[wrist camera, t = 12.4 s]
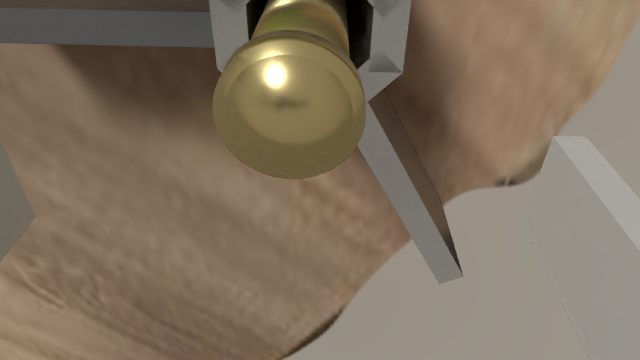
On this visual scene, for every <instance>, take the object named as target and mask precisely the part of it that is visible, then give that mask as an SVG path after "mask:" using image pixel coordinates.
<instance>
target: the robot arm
mask: <svg viewBox="0 0 640 360" xmlns="http://www.w3.org/2000/svg"><path fill="white" fill-rule="evenodd" d="M34 217H35V214H34V212H33V210H32V208H31V206H30V204H29V201H28V199H27V197H26V195H25V193H24V190H23V188H22V186H21V184H20V182H19V180H18V177H17V175H16V173H15V171H14V169H13V167H12V164H11V162H10V160H9V158H8V156H7V153H6V151H5V149H4V147H3V145H2V143H1V140H0V262H1V261H2V259H3V258H4V257H5V256H6V254H7V253H8V252H9V250H10V249H11V248H12V246H13V245H14V244H15V242H16V241H17V240H18V238H19V237H20V236H21V235H22V233H23V232H24V231H25V229H26V228H27V227H28V225H29V224H30V223H31V221H32V220H33V219H34ZM522 226H523V228H524V230H525V232H526V234H527V236H528V238H529V240H530V242H531V244H532V246H533V248H534V250H535V252H536V254H537V256H538V258H539V260H540V262H541V264H542V266H543V268H544V270H545V272H546V274H547V276H548V278H549V280H550V282H551V284H552V286H553V288H554V290H555V292H556V294H557V295H558V298H559V300H560V302H561V303H562V306H563V308H564V309H565V312H566V314H567V316H568V318H569V320H570V321H571V323H572V325H573V327H574V329H575V331H576V333H577V335H578V337H579V339H580V341H581V343H582V345H583V347H584V349H585V351H586V353H587V355H588V357H589V359H590V360H640V199H639V198H638V197H637V196H636V195H635V194H634V193H633V191H632V190H631V189H630V188H629V187H628V185H627V184H626V183H625V182H624V181H623V180H622V179H621V177H620V176H619V175H618V174H617V173H616V172H615V170H614V169H613V168H612V167H611V166H610V165H609V163H608V162H607V161H606V160H605V159H604V158H603V156H602V155H601V154H600V153H599V152H598V151H597V149H596V148H595V147H594V146H593V145H592V144H591V142H590V141H589V140H588V139H587V138H586V137H557V136H553V138H552V141H551V144H550V147H549V149H548V152H547V155H546V158H545V161H544V163H543V166H542V169H541V172H540V174H539V177H538V180H537V183H536V186H535V188H534V191H533V194H532V197H531V199H530V202H529V205H528V208H527V211H526V213H525V216H524V219H523V222H522Z"/></svg>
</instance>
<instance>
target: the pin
mask: <svg viewBox="0 0 640 360" xmlns="http://www.w3.org/2000/svg"><path fill="white" fill-rule="evenodd" d="M212 108H213V118H214V122H215V126H216V129H217V131H218V134H219V135H220V137H221V139H222V141H223V142H224V144H225V145H226V147H227V148H228V149H229V150H230V152H231V153H232V154H233V155H234V156H235V157H237V158H238V159H239V160H240V161H241V162H243V163H244V164H246V165H247V166H249V167H250V168H252V169H254V170H256V171H258V172H261V173H263V174H266V175H269V176H273V177H278V178H285V179H302V178H309V177H313V176H317V175H320V174H323V173H325V172H327V171H329V170H331V169H333V168H335V167H336V166H338V165H339V164H341V163H342V162H343V161H344V160H345V159H347V158H348V157H349V155H350V154H351V153H352V152H353V151H354V149H355V148H356V146H357V145H358V143H359V141H360V139H361V137H362V134H363V131H364V128H365V121H366V105H365V97H364V89H363V84H362V81H361V78H360V75H359V73H358V71H357V69H356V67H355V66H354V64H353V63H352V61H351V60H350V57H349V41H348V26H347V10H346V0H268V1H267V4H266V6H265V8H264V11H263V13H262V15H261V18H260V20H259V22H258V24H257V27H256V29H255V31H254V34H253V36H252V38H251V40H249V41H248V42H246V43H245V44H243V45H242V46H241V47H240V48H239V49H238V50H237V51H236V52H235V53H234V54H233V55H232V56H231V58H230V59H229V61H228V62H227V64H226V66H225V68H224V70H223V72H222V74H221V76H220V78H219V80H218V82H217V85H216V87H215V91H214V95H213V104H212Z"/></svg>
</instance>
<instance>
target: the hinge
mask: <svg viewBox="0 0 640 360" xmlns="http://www.w3.org/2000/svg"><path fill="white" fill-rule="evenodd" d="M267 1H268V0H0V43H25V44H70V45H116V46H161V47H206V48H215V55H216V63H217V69H218V70H219V71H220V72H223V70H224V68H225V66H226V64H227V62H228V61H229V59H230V58H231V56H232V55H233V54H234V53H235V52H236V51H237V50H238V49H239V48H240V47H241V46H242V45H243V44H245V43H246V42H248V41H249V40H251V38H252V36H253V34H254V31H255V29H256V27H257V24H258V22H259V20H260V18H261V15H262V13H263V11H264V8H265V6H266V4H267ZM411 1H412V0H362V9H361V10H360V11H359V12H358V13H357V14H356V15H355V16H354V17H353V18H352V19H351V20H349V21H348V22H347V26H348V41H349V57H350V60H351V61H352V63H353V64H354V66H355V67H356V69H357V71H358V73H359V75H360V78H361V81H362V84H363V89H364V97H365V105H366V121H365V128H364V131H363V134H362V137H361V139H360V141H359V143H358V145H357V146H358V148H359V150H360V151H361V153H362V155H363V156H364V158H365V160H366V162H367V163H368V165H369V167H370V168H371V170H372V172H373V173H374V175H375V177H376V178H377V180H378V182H379V183H380V185H381V187H382V188H383V190H384V192H385V193H386V195H387V197H388V198H389V200H390V202H391V203H392V205H393V207H394V208H395V210H396V212H397V213H398V215H399V217H400V218H401V220H402V222H403V224H404V225H405V227H406V229H407V230H408V232H409V234H410V235H411V237H412V239H413V240H414V242H415V244H416V245H417V247H418V249H419V250H420V252H421V254H422V255H423V257H424V259H425V260H426V262H427V264H428V265H429V267H430V269H431V270H432V272H433V274H434V275H435V277H436V279H437V280H438V282H439V284H441V283H444V282H447V281H450V280H453V279H456V278H459V277H462V276H463V274H462V271H461V267H460V264H459V260H458V257H457V254H456V250H455V247H454V244H453V241H452V237H451V233H450V230H449V227H448V223H447V220H446V217H445V213H444V210H443V206H442V203H441V200H440V197H439V196H438V194H437V192H436V190H435V188H434V186H433V184H432V182H431V180H430V178H429V176H428V174H427V172H426V170H425V169H424V167H423V165H422V163H421V161H420V159H419V157H418V155H417V153H416V151H415V149H414V147H413V145H412V143H411V141H410V140H409V138H408V136H407V134H406V132H405V130H404V128H403V126H402V124H401V122H400V120H399V118H398V116H397V114H396V112H395V111H394V109H393V107H392V105H391V103H390V101H389V99H388V97H387V95H386V93H385V91H384V88H385V87H386V86H387V85H388V84H390V83H391V82H392V81H393V80H395V79H396V78H397V77H398V76H399V75H401V74H402V73H403V65H404V57H405V49H406V41H407V33H408V25H409V17H410V9H411Z"/></svg>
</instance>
